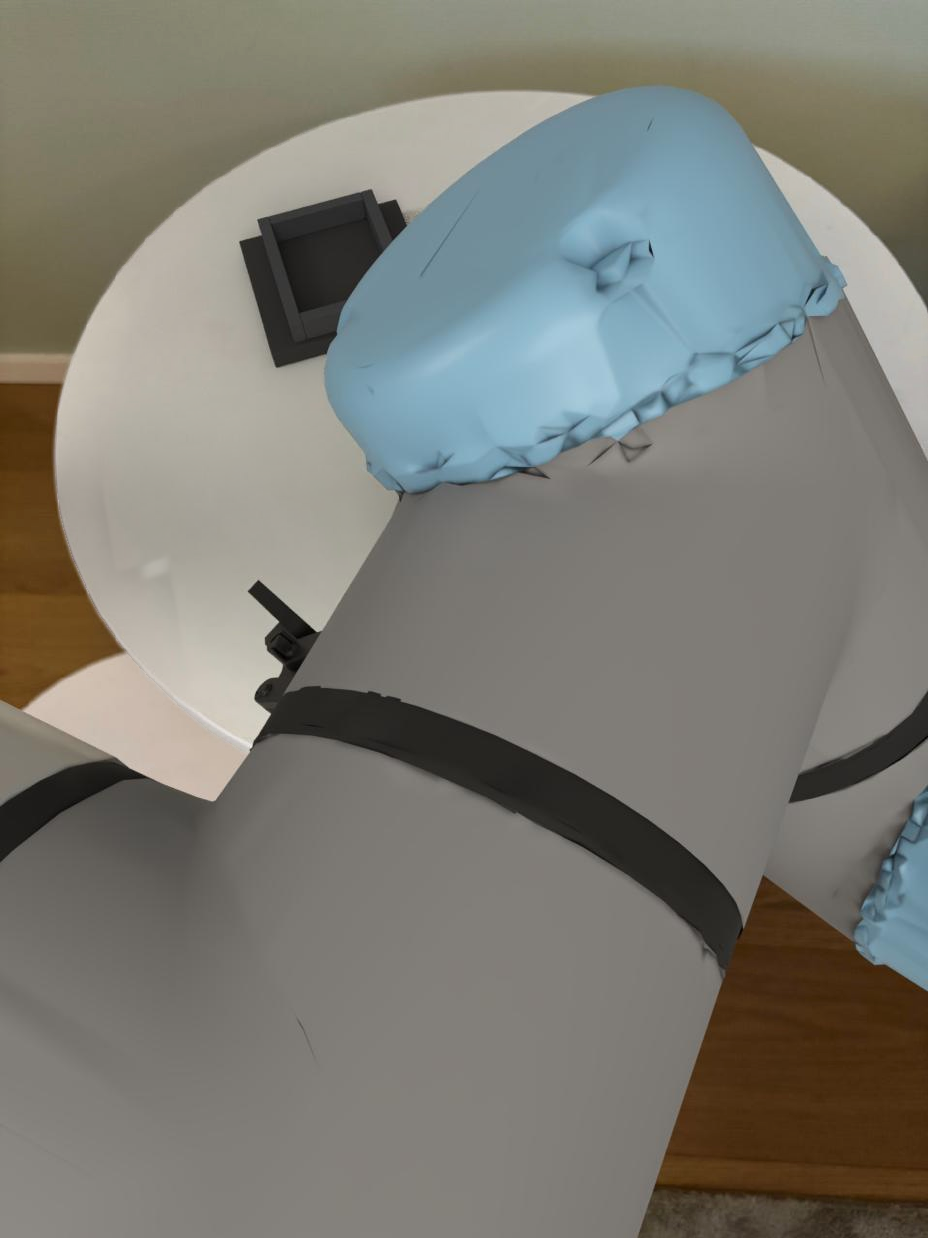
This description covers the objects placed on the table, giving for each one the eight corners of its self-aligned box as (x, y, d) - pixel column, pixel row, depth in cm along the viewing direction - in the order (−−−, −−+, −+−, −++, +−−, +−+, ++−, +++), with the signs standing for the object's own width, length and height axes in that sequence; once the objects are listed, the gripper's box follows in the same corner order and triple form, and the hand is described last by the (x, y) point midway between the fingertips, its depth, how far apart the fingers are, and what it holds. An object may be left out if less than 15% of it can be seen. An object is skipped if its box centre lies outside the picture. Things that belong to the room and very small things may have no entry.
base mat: (275, 368, 83) (265, 336, 80) (243, 254, 90) (232, 221, 87) (443, 321, 84) (439, 287, 81) (398, 213, 91) (393, 178, 88)
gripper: (435, 998, 33) (246, 736, 50) (925, 428, 35) (580, 370, 53) (271, 886, 29) (128, 645, 46) (837, 252, 31) (496, 254, 49)
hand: (369, 498), depth 50 cm, fingers open, 13 cm apart
